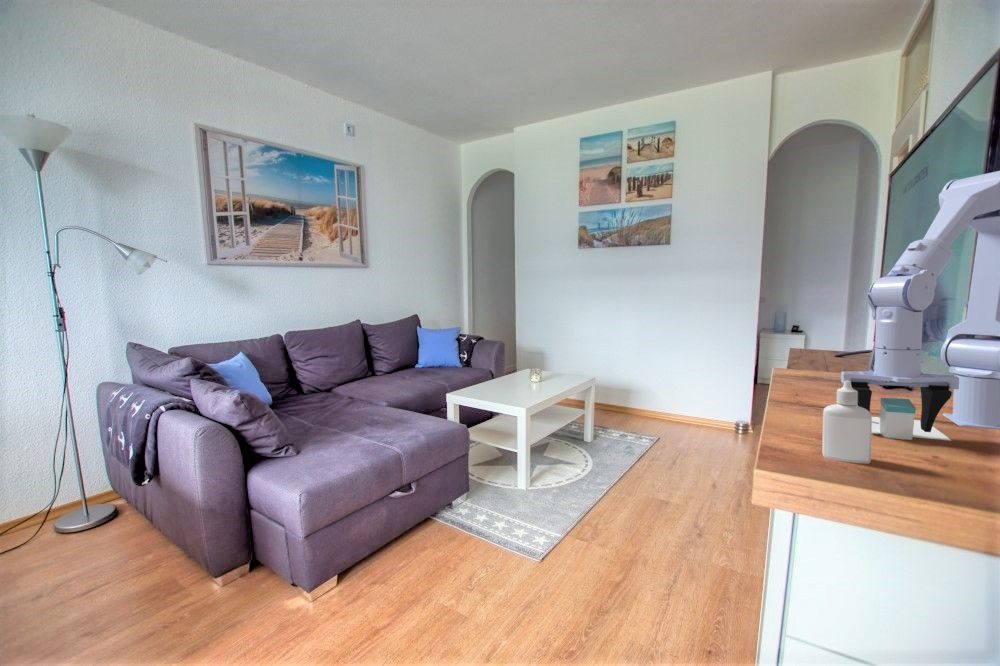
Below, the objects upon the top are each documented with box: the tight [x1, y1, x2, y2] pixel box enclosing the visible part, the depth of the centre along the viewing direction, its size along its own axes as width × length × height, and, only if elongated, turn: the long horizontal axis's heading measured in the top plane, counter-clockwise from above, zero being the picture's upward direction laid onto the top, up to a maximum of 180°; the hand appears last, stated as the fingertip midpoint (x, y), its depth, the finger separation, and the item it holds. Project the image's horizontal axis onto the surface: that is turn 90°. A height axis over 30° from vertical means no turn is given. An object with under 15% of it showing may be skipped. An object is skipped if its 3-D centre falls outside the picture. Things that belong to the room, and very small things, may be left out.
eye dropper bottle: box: [821, 381, 873, 465], centre depth 65 cm, size 4×6×12 cm
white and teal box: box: [879, 397, 917, 441], centre depth 73 cm, size 4×4×6 cm
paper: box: [871, 416, 953, 441], centre depth 78 cm, size 12×12×1 cm
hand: (895, 427), depth 74 cm, fingers open, 7 cm apart
